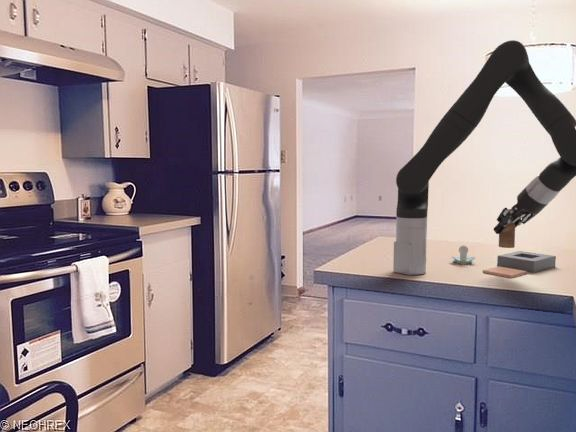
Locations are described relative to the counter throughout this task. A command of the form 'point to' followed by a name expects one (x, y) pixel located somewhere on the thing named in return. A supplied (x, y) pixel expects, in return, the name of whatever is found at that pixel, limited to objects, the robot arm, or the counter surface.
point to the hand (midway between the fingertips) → (501, 231)
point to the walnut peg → (507, 236)
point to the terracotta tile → (505, 272)
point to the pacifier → (463, 256)
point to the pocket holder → (526, 261)
